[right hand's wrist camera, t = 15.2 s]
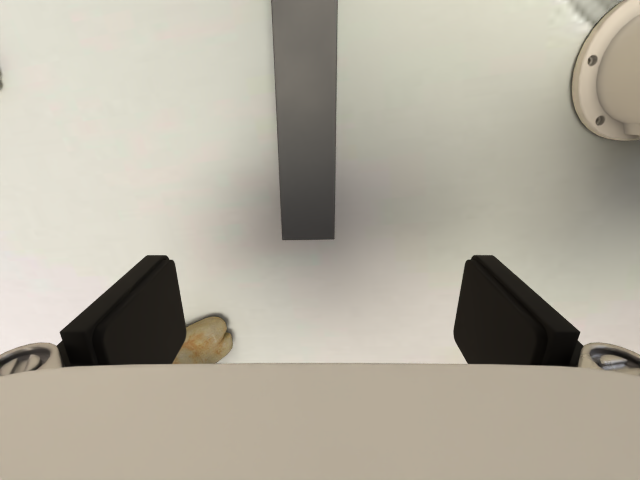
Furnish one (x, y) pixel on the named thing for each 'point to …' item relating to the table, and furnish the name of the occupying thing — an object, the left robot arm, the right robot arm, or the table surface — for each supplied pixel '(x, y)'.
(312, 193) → the beam
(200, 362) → the sculpture
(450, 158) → the table surface
